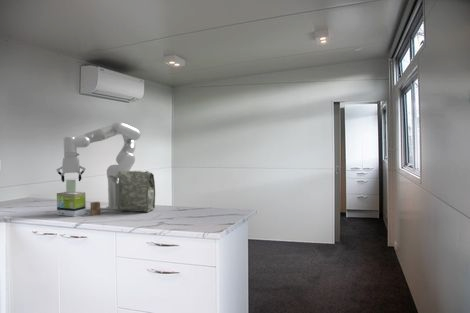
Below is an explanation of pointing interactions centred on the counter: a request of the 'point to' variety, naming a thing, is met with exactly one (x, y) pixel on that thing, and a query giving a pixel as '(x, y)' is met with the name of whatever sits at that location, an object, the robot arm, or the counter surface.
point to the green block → (70, 186)
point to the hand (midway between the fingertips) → (71, 181)
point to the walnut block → (95, 208)
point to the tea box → (71, 204)
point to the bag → (136, 191)
